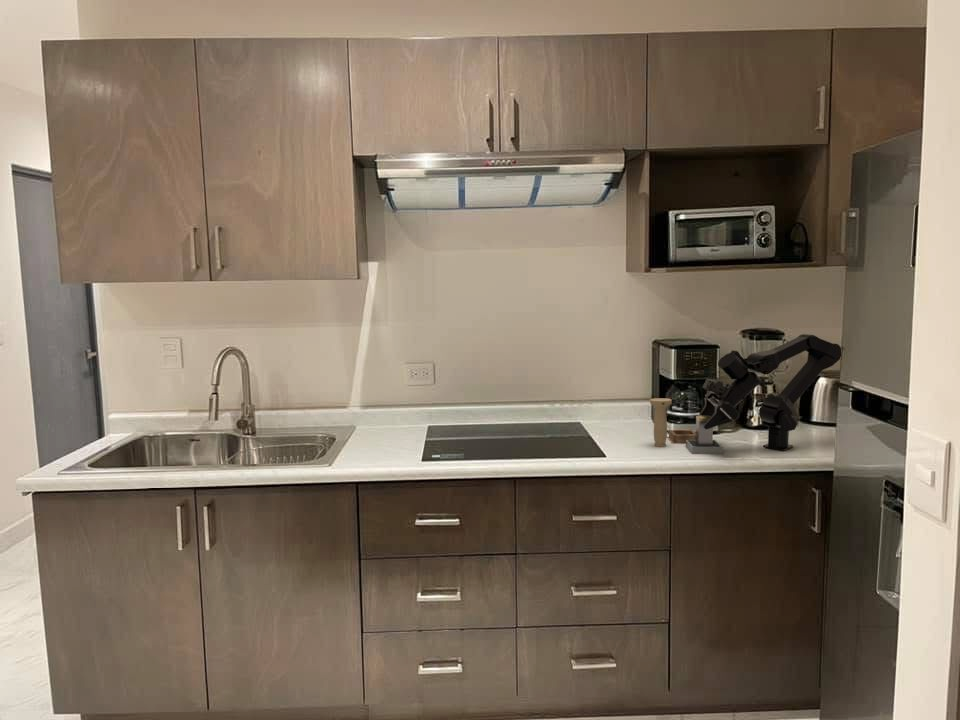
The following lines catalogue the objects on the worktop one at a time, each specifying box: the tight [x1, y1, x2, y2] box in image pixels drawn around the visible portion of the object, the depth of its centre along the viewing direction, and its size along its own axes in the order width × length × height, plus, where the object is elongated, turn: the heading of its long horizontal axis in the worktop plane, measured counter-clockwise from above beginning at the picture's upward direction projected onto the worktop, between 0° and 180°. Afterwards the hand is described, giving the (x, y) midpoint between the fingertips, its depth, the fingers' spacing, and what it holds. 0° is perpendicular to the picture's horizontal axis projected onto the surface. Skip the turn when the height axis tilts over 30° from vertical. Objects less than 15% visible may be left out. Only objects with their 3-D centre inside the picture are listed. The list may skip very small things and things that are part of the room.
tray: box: [685, 439, 724, 455], centre depth 202 cm, size 9×9×2 cm
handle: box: [649, 397, 673, 448], centre depth 207 cm, size 5×6×15 cm
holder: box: [666, 429, 696, 445], centre depth 214 cm, size 9×9×3 cm
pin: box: [695, 415, 714, 447], centre depth 201 cm, size 4×4×10 cm
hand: (700, 424), depth 201 cm, fingers open, 9 cm apart
